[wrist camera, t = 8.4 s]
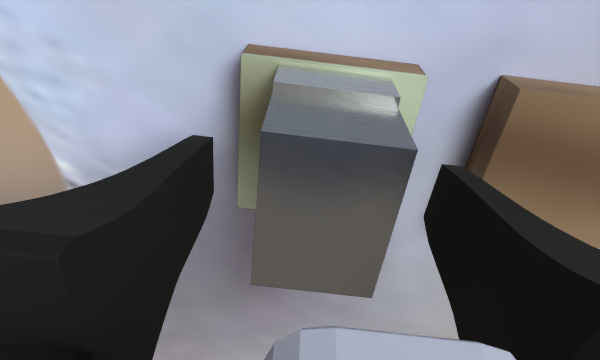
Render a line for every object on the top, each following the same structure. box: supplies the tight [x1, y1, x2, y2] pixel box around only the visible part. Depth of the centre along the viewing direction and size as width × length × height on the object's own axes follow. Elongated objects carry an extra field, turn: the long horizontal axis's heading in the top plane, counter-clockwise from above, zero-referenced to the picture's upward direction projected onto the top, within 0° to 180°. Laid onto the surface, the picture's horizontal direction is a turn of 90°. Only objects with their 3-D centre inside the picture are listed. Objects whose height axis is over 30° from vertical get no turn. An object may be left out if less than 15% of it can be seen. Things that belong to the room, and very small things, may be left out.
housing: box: [251, 64, 418, 298], centre depth 12 cm, size 6×4×4 cm, turn 174°
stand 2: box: [465, 75, 600, 248], centre depth 15 cm, size 6×6×2 cm
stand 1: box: [237, 44, 428, 210], centre depth 15 cm, size 6×6×2 cm
